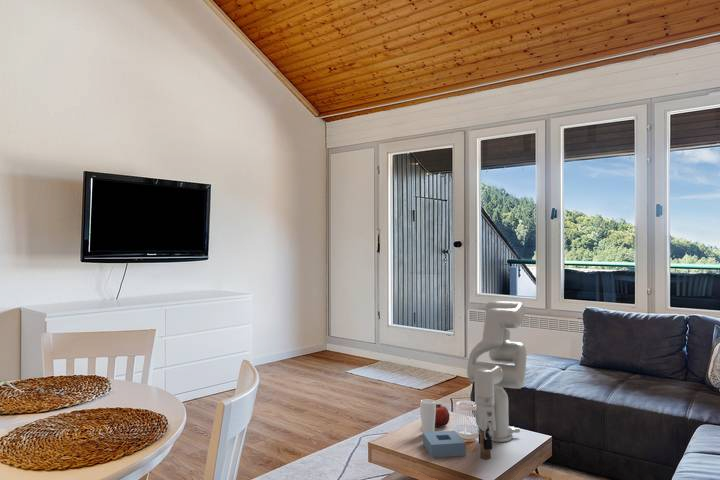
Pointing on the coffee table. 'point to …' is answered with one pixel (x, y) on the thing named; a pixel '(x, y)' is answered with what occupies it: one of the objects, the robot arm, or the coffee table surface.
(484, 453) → the walnut pin
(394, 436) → the coffee table surface
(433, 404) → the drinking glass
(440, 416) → the fruit
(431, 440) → the socket block
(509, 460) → the coffee table surface
